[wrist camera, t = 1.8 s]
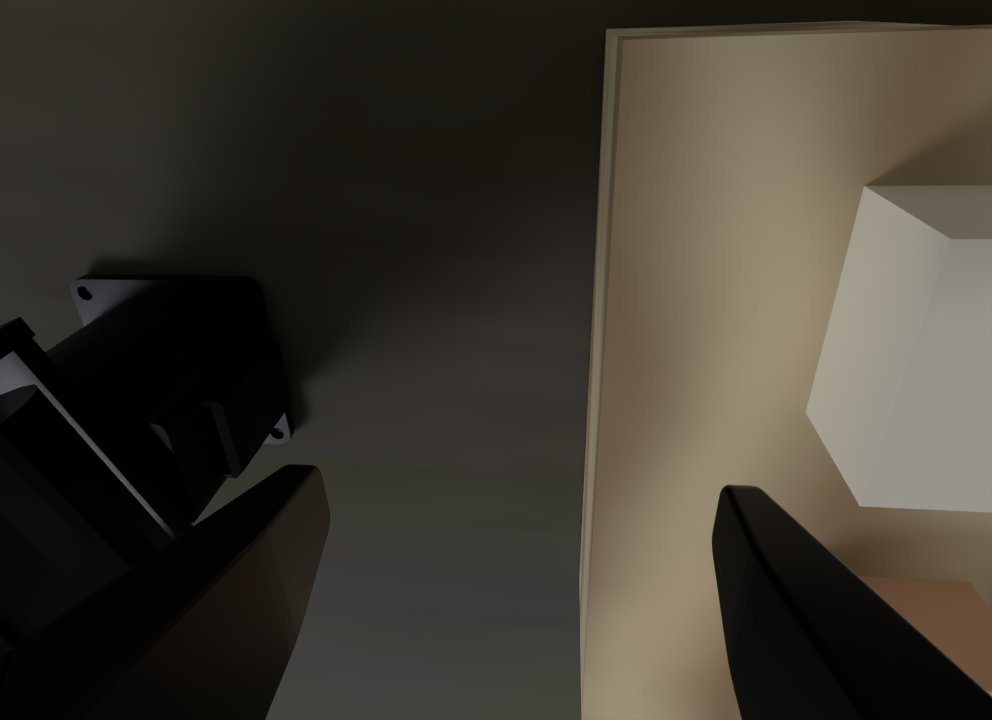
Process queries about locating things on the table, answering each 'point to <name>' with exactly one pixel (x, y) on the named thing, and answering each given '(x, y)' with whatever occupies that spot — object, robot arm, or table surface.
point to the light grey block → (912, 351)
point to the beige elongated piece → (745, 320)
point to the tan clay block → (945, 619)
